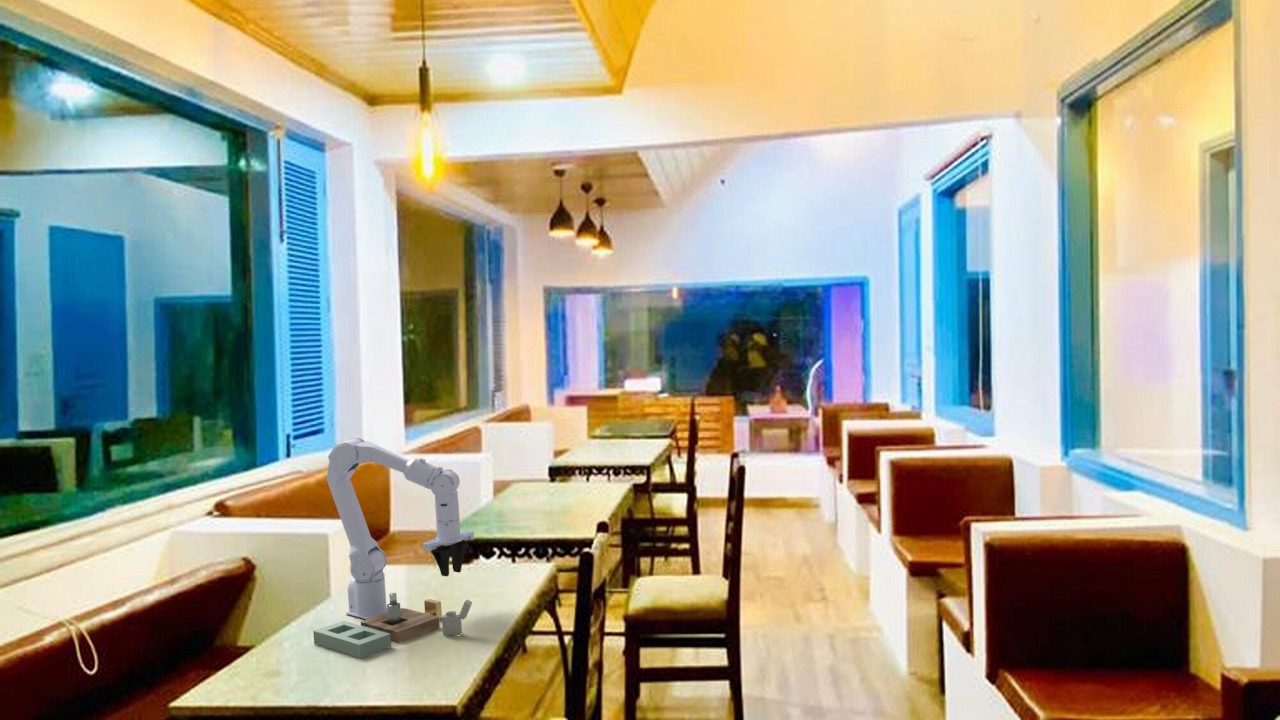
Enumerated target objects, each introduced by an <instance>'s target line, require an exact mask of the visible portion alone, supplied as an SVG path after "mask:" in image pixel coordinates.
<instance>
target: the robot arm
mask: <svg viewBox="0 0 1280 720" xmlns="http://www.w3.org/2000/svg"><path fill="white" fill-rule="evenodd" d="M327 458H328V467H327V473H326V474H327V475H326V482H327V485H328V488H329V490H330V493H331V495H332V498H333V501H334V504H335V507H336V510H337V513H338V515H339V517H340V518H339V519H340V521H341V523H342V526H343V529H344V532H345V534H346V538H347V539H348V543H349V545H350V547H349V551H348V553H349V554H348V558H349V561H350V566H349V567H350V568H349V571H350V574H351V576H352V577H353V578H352V579H351V580H350V581H349V583H348V586H347V596H348V597H347V598H348V599H347V600H348V611H346V613H345V614H346V615H349V616H351V617H352V616H353V617H356V618H359V619H363V620H368V619H371V618H374V617H376V616H379V615H382V614H385V613H387V592H386V579H385V573H384V569H385V568H386V566H387V562H388V559H387V557H388V556H387V555H386V553H385V552H384V551H383V549H381V548H380V545H379V544H378V543H379V542H377V541H376V540H375V539H374V538H373V537H372V536H371V533H370V529H369V528H368V524H367V521H366V519H365V516H364V512H363V510H362V508H361V505H360V502H359V499H358V497H357V494H356V491H355V488H354V486H353V483H352V481H351V478H352V476H353V475H354V473H355V471H356V469H357V467H358V466H360V465H361V464H368V463H375V464H377V465H381V466H384V467H386V468H389V469H392V470H394V471H397V472H400V473H402V474H403V475H404V478H405V480H406V481H409V482H411V483H414V484H415V485H417V486H418V485H419V486H420V487H422V488H423V487H424V489H425V488H426V489H427V490H430V491H431V492H432V494H433V495H434V500H435V502H434V510H435V521H436V523H435V525H436V527H435V528H436V537H435V538H433V539H431V540H428V541H426V542H423V543H422V547H423V548H422V549H423V552H427V553H429V552H430V553H431V554H432V556H433V557H434V560H435V561H436V563H437V566H438V569H439V571H440V576H442V577H449V575H450V556H451V565H452V570H453V572H454V573H461V571H462V567H463V562H464V559H465V555H466V552H467V550H468V548H469V546H470V545H469V542H466V541H468V540H469V541H472V540H474V539H475V531H474V530H473V531H472V530H466V531H462V532H461V524H460V522H461V521H460V505H459V499H458V498H459V496H458V495H459V494H458V488H459V486H460V483H461V481H460V477H459V475H458V474H457V473H456V472H455V471H453V470H452V469H449V468H448V469H444V468H443V467H442V466H440V465H439V466H438V467H437V466H435V465H433V464H430V463H429V462H426V461H427V460H426V459H425V458H423V457H420V458H419V459H418V458H414V459H411V460H409V459H406V458H404V457H402V456H400V455H398V454H396V453H394V452H393V451H391V450H387V449H386V448H384V447H381V446H379V445H378V444H376V443H373V442H372V441H370V440H369V441H368V440H364V439H362V438H359V437H354V438H351V439H348V440H347V441H343V442H339V443H337V444H335V445H334V447H333V448H332V449H331V451H330V453H329V454H328V456H327ZM447 546H448V548H447Z"/></svg>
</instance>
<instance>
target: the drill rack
mask: <svg viewBox="0 0 1280 720" xmlns="http://www.w3.org/2000/svg"><path fill="white" fill-rule="evenodd" d="M312 632H313V644H314V645H317V644H318V645H317V646H320V645H321V647H323V646H324V648H327V649H330V650H332V651H335V652H338V653H342V654H345V655H348V656H352V657H355V658H358V659H362V658H366V657H368V656H371V655H373V654H376V653H379V652H381V650H382V651H384V650H386V648H387V649H389V648H388V647H390V648H392V641H391V636H390V634H389V633H386V632H382V631H379V630H375V629H372V628H368V627H364V626H361V624H358V623H352V622H350V621H347V620H342V621H339V622H336V623H333V624H329V625H327V626H324V627H321V628H320V627H319V628H318V629H315V630H313V631H312ZM383 649H384V650H383ZM378 651H379V652H378Z"/></svg>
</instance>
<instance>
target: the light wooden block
mask: <svg viewBox="0 0 1280 720" xmlns="http://www.w3.org/2000/svg"><path fill="white" fill-rule="evenodd" d="M423 601H424V602H423V603H424V613H426V614H430V615H434V616H438V617H439V620H440V619H442V616H443V611H442V601H441V600H436V599H432V598H428V599H425V600H423Z"/></svg>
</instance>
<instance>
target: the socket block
mask: <svg viewBox="0 0 1280 720" xmlns="http://www.w3.org/2000/svg"><path fill="white" fill-rule="evenodd" d="M400 609H401V623H399V624H396V625H393V626H392V625H388V614H387V613H385V614H382V615H379V616H376V617H374V618H371V619H368V620H366V619H364V620H362V621H360V625H361V626H364V627H368V628H372V629H375V630H379V631H382V632H386V633H389V634H390V636H391V642H393V641H395V642H394V643H397V642H399V643H401V642H403V640H404V641H406V639H407V640H409V639H411V637H412V638H414V637H413V636H415V637H417V636H416V635H418V636H420V635H423V634H425V632H426V633H428V632H431V631H434V630H436V629H435V628H437V629H439V628H441V625H440V624H441V623H440V619H439V617H438V616H434V615H430V614H426V613H425V612H421V611H417V610H413V609H409V608H405V607H400ZM438 627H439V628H438ZM433 629H434V630H433ZM408 638H409V639H408ZM400 641H401V642H400Z"/></svg>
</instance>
